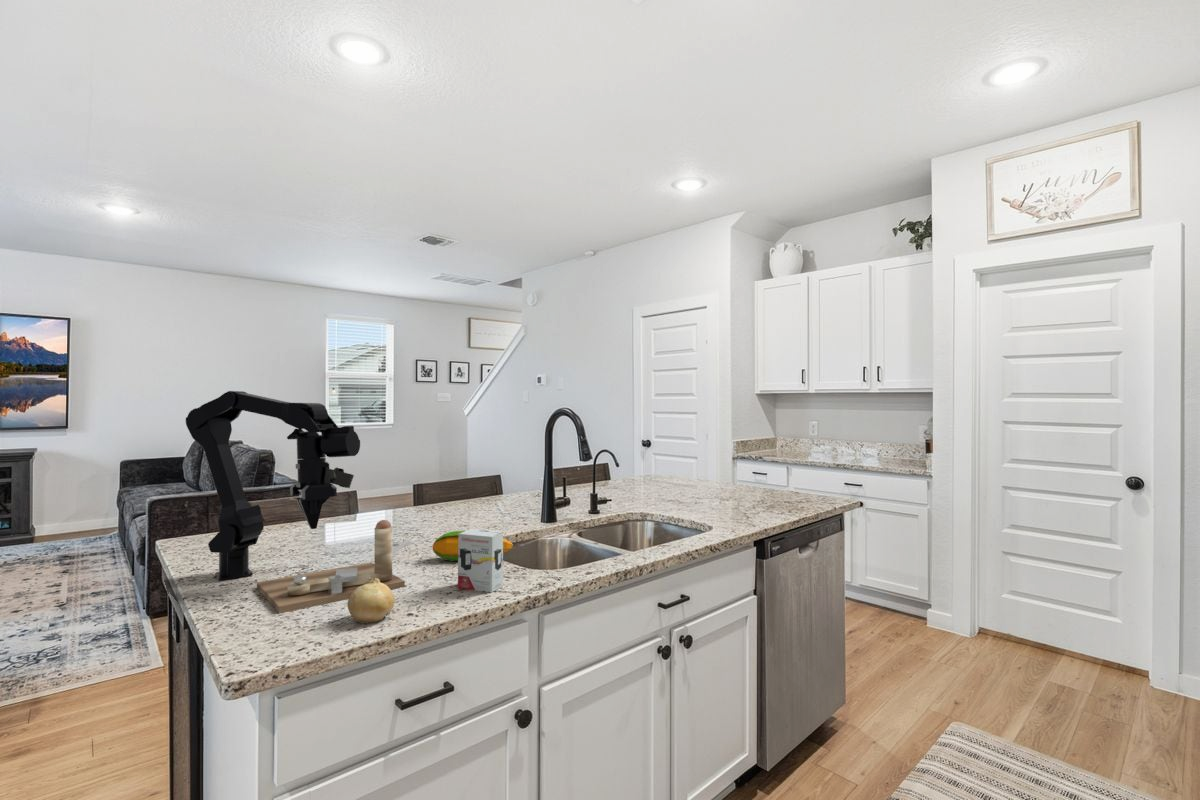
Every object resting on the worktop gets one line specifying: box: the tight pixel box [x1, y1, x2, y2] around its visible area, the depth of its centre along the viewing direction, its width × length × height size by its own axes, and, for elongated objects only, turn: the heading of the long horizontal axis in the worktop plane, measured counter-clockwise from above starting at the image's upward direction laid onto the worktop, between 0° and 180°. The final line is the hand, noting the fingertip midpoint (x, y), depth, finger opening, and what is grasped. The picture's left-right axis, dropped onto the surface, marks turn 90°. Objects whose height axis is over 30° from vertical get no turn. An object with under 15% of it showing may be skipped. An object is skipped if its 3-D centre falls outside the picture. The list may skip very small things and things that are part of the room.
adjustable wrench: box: [392, 539, 412, 561], centre depth 150 cm, size 25×6×2 cm, turn 5°
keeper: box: [294, 568, 357, 595], centre depth 117 cm, size 8×12×3 cm, turn 131°
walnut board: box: [256, 561, 406, 614], centre depth 123 cm, size 20×24×1 cm
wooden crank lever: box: [288, 519, 393, 595], centre depth 120 cm, size 20×4×13 cm, turn 123°
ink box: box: [457, 528, 504, 593], centre depth 123 cm, size 9×5×12 cm, turn 70°
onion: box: [346, 577, 395, 624], centre depth 105 cm, size 8×8×7 cm
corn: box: [432, 530, 514, 562], centre depth 146 cm, size 7×8×20 cm
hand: (313, 528), depth 129 cm, fingers closed
